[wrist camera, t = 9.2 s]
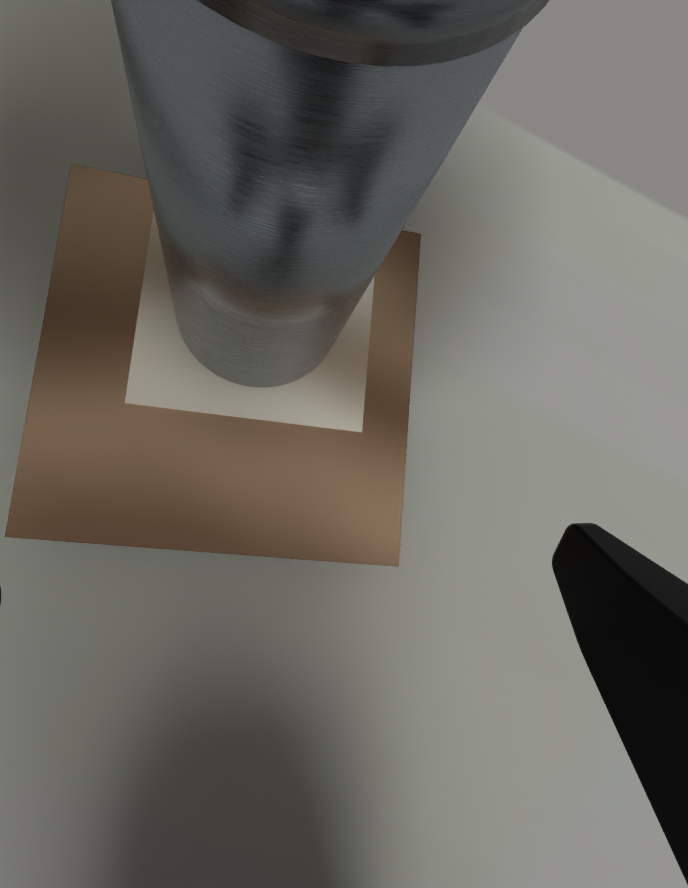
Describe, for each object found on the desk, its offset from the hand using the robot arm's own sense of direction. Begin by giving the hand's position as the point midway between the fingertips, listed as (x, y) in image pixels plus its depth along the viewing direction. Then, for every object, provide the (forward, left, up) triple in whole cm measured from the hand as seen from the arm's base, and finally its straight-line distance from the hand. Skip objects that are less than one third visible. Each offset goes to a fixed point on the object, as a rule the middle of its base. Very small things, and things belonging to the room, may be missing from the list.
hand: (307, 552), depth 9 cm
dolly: (+5, +1, -11) cm, 12 cm away
